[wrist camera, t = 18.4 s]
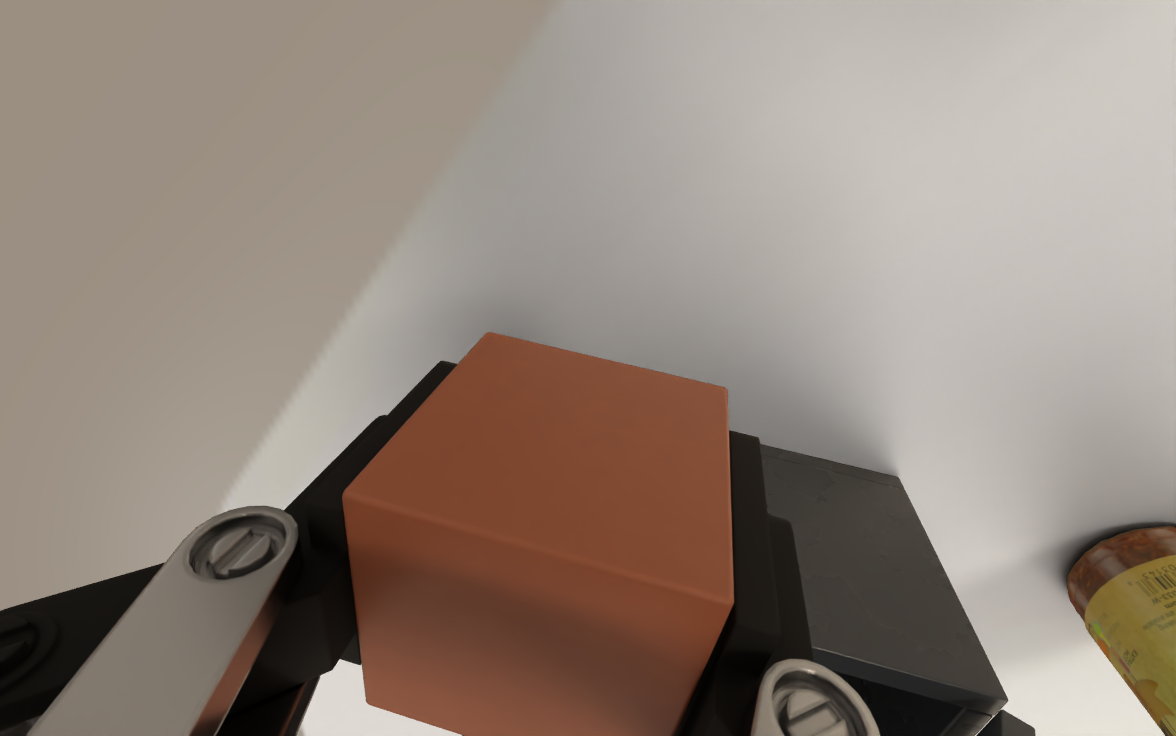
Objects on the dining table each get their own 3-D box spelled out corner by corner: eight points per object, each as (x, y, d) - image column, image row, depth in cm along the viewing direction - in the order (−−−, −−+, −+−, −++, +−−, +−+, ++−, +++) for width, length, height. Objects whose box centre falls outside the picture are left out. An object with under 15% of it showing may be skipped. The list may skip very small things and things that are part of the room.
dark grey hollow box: (526, 588, 31) (458, 774, 23) (554, 394, 25) (474, 553, 16) (794, 663, 30) (828, 892, 21) (899, 477, 23) (1009, 700, 15)
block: (486, 329, 10) (338, 492, 6) (728, 386, 9) (736, 603, 5) (476, 505, 12) (363, 705, 8) (671, 558, 11) (649, 798, 8)
